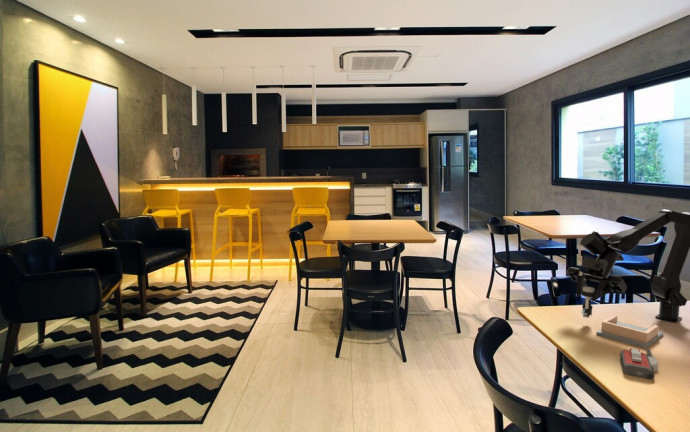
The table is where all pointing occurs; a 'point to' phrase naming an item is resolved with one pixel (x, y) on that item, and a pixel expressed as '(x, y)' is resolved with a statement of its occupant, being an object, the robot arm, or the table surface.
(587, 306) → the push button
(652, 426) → the table surface
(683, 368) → the table surface
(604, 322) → the end holder
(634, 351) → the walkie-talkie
